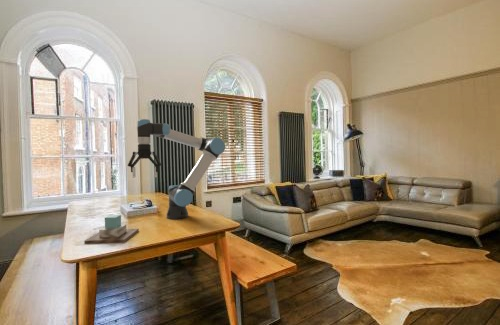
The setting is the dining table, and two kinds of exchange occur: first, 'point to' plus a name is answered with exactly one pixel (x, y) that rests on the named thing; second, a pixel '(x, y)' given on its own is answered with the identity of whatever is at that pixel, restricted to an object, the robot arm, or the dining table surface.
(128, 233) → the base
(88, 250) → the dining table surface
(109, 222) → the cube
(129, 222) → the dining table surface
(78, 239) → the dining table surface
